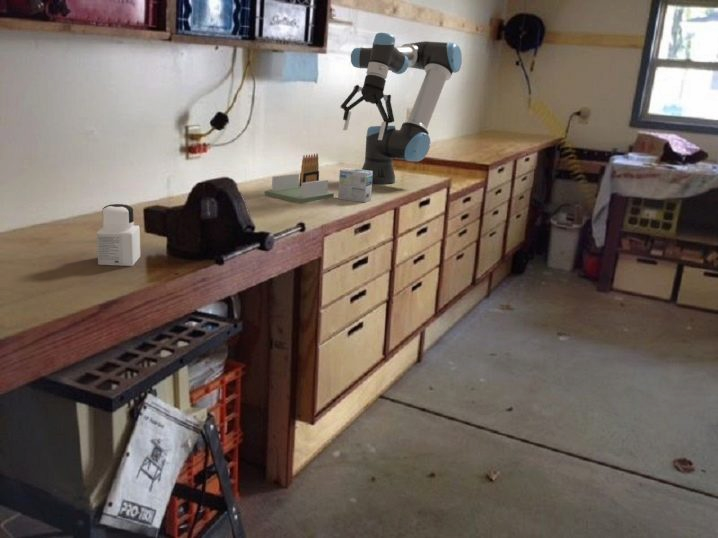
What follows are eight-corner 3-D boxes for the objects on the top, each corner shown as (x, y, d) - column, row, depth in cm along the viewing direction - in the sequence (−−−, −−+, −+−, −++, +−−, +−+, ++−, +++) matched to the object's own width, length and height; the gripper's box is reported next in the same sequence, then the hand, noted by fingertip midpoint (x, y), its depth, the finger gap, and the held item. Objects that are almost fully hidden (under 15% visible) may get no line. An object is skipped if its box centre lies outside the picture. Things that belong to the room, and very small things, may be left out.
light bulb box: (371, 200, 245) (373, 170, 242) (365, 203, 239) (367, 172, 236) (343, 196, 248) (345, 167, 245) (337, 199, 242) (339, 169, 239)
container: (107, 255, 159) (104, 201, 155) (140, 256, 159) (139, 203, 155) (97, 265, 151) (95, 208, 147) (133, 266, 152) (131, 210, 148)
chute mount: (299, 189, 254) (299, 172, 252) (333, 197, 244) (334, 179, 242) (264, 195, 240) (265, 176, 238) (300, 203, 230) (300, 184, 228)
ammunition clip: (303, 186, 261) (304, 155, 258) (299, 185, 262) (300, 154, 259) (318, 183, 270) (320, 153, 266) (315, 182, 271) (316, 152, 267)
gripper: (346, 65, 235) (332, 124, 236) (411, 85, 243) (397, 143, 244) (340, 68, 242) (327, 126, 243) (403, 88, 250) (390, 144, 251)
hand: (362, 135), depth 244 cm, fingers open, 13 cm apart
